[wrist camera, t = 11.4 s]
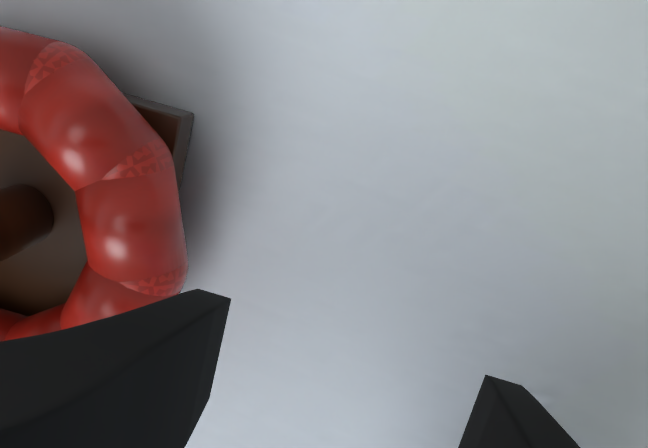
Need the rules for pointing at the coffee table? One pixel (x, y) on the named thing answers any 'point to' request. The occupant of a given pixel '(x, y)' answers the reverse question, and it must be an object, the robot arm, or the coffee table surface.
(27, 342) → the robot arm
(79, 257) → the post
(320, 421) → the coffee table surface
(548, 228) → the coffee table surface
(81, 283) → the ring
